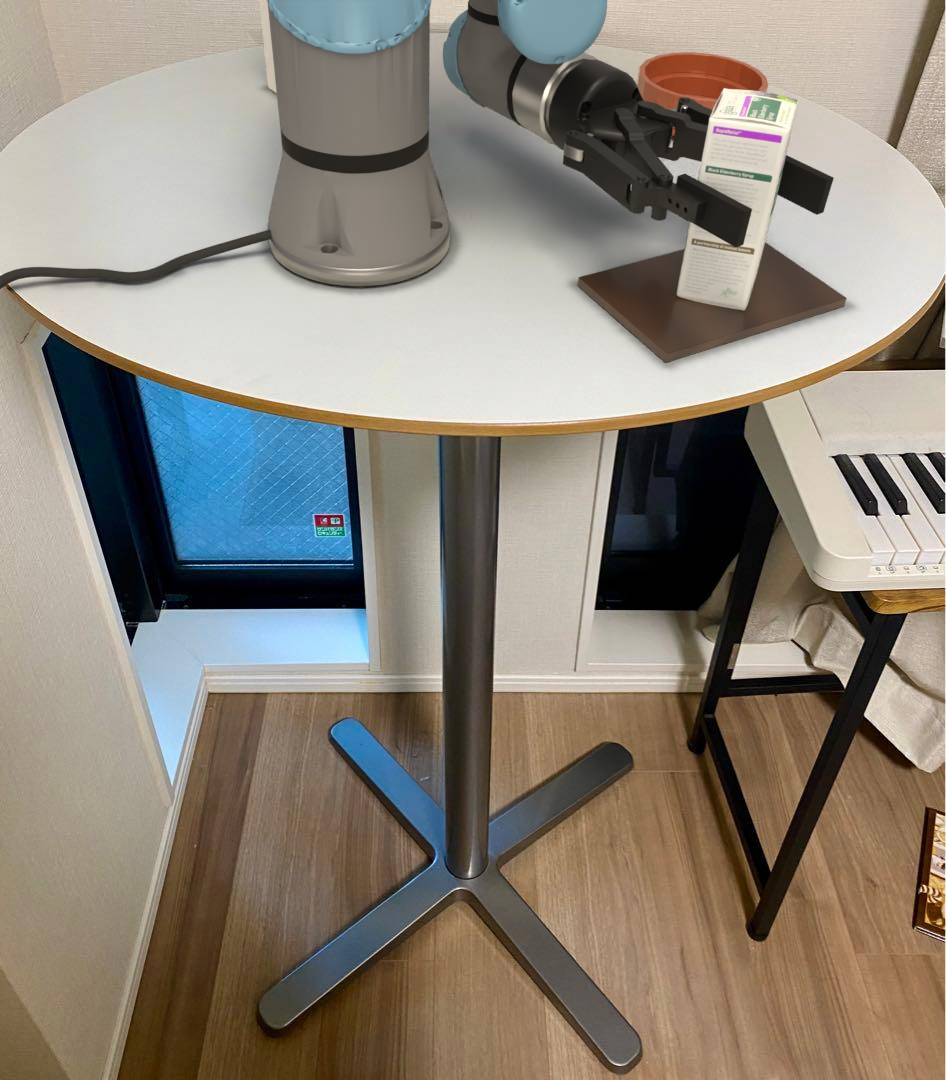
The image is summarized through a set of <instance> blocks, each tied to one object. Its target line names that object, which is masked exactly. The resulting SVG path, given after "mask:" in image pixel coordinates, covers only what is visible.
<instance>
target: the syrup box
mask: <svg viewBox="0 0 946 1080" xmlns="http://www.w3.org/2000/svg"><path fill="white" fill-rule="evenodd" d="M798 106H799V100H798V99H796V98H794V97H791V96H785V95H782V94H777V93H774V92H768V91H767V92H761V91H753V90H739V89H726V88H723V91H722V92H721V95H720V97H719V99H718V101H717V102H716V104H715V106H714V108H713V111H712V114H711V116H710V118H709V124H708V129H707V135H706V140H705V145H704V150H703V155H702V161H701V162H700V166H699V171H698V176H697V180H698V181H700V182H702V183H704V184H706V185H708V186H710V187H711V188H713V189H715V190H717V191H719V192H721V193H723V194H725V195H727V196H728V197H730V198H732V199H734V200H736V201H738V202H740V203H742V204H744V205H745V206H747V207H749V208H751V209H752V212H751V216H750V220H749V224H748V228H747V232H746V236H745V240H744V244H743V245H741V246H739V247H734V246H732V245H731V244H729V243H727V242H725V241H723V240H722V239H720V238H718V237H716V236H715V235H713V234H711V233H709V232H707V231H706V230H704V229H702V228H700V227H699V226H697V225H695V224H693V223H692V222H689V224H688V229H687V233H686V240H685V244H684V245H685V246H684V249H685V250H684V255H683V260H682V265H681V271H680V276H679V281H678V287H677V293H676V294H677V296H678V297H681V298H685V299H689V300H693V301H697V302H702V303H706V304H711V305H717V306H722V307H727V308H733V309H739V310H746V307H747V305H748V302H749V299H750V296H751V293H752V290H753V286H754V283H755V279H756V276H757V272H758V268H759V264H760V260H761V256H762V252H763V248H764V245H765V242H766V241H767V237H768V233H769V229H770V225H771V222H772V218H773V215H774V211H775V207H776V202H777V200H778V199H777V198H778V195H777V194H778V190H779V185H780V181H781V177H782V172H783V168H784V163H785V159H786V155H787V153H788V149H789V145H790V140H791V135H792V133H793V128H794V123H795V119H796V115H797V111H798V108H799V107H798Z"/></svg>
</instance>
